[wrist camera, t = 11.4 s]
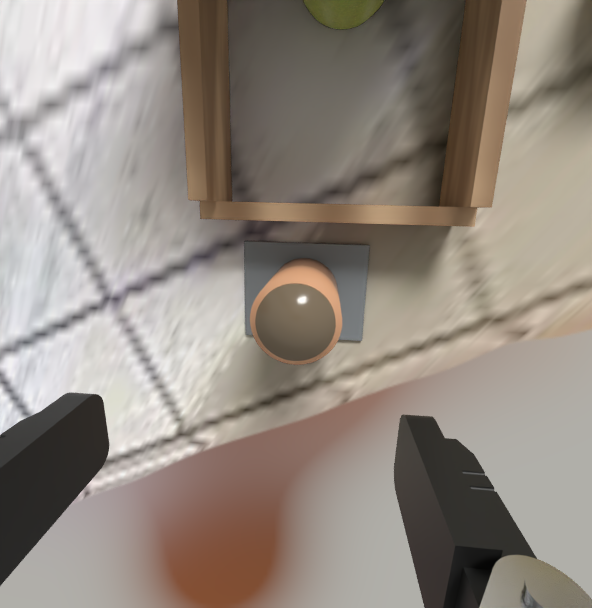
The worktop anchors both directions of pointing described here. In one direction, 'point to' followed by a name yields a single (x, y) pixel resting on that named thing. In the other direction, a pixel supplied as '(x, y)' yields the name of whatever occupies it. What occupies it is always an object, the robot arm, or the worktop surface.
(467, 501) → the robot arm
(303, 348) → the tan cylinder
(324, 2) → the plant pot
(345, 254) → the mat
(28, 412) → the worktop surface
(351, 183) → the worktop surface
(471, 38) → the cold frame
